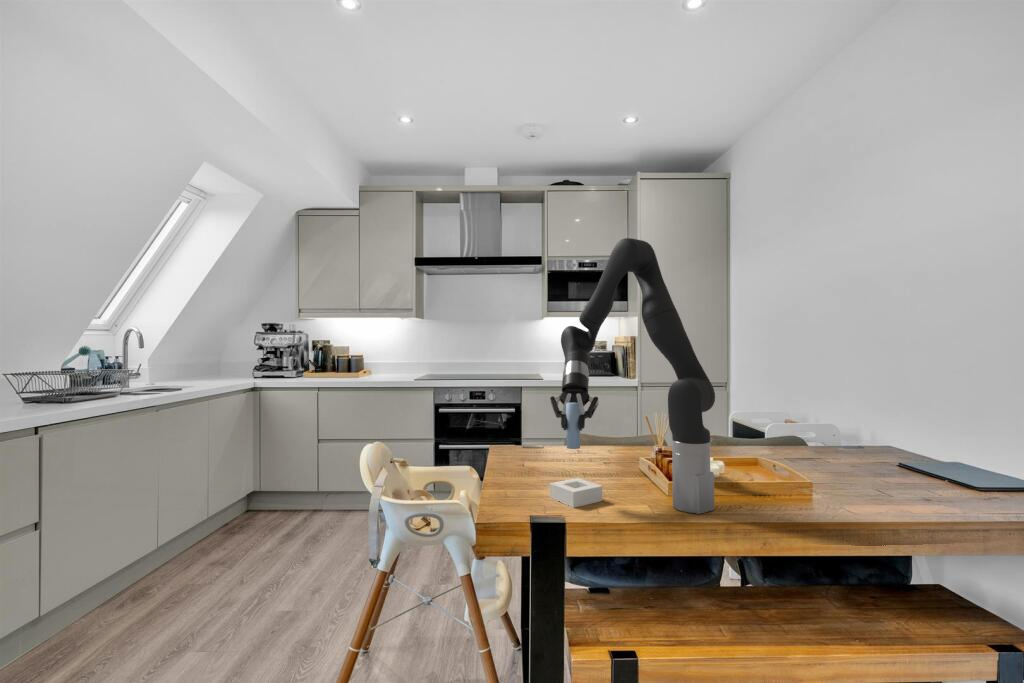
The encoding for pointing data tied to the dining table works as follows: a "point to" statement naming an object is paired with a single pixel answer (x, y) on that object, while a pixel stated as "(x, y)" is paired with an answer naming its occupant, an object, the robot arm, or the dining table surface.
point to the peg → (573, 425)
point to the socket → (576, 492)
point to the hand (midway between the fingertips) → (572, 428)
